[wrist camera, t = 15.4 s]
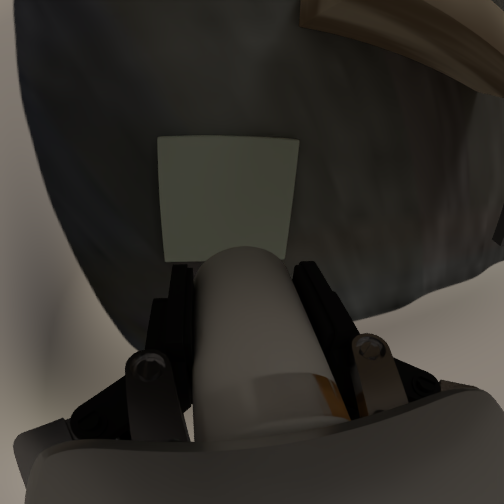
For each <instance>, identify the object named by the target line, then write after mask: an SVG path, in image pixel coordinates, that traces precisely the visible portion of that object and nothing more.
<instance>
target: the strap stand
mask: <svg viewBox="0 0 504 504" xmlns="http://www.w3.org/2000/svg"><path fill="white" fill-rule="evenodd" d="M299 27H303V28H308V29H313V30H318V31H323V32H327V33H331V34H335V35H339V36H343V37H347V38H351V39H354V40H358V41H361V42H365V43H368V44H371V45H374V46H377V47H380V48H383V49H386V50H389V51H391V52H394V53H397V54H400V55H402V56H405V57H407V58H410V59H412V60H415V61H417V62H419V63H422V64H424V65H426V66H428V67H430V68H433V69H435V70H437V71H439V72H441V73H443V74H445V75H447V76H449V77H451V78H453V79H455V80H457V81H459V82H461V83H462V84H464V85H466V86H468V87H470V88H471V89H473V90H475V91H476V92H479V93H484V94H489V95H493V96H497V97H502V98H504V11H503V10H501V9H500V8H499V7H498V6H497V5H496V4H495V3H494V2H493V1H491V0H301V3H300V19H299Z"/></svg>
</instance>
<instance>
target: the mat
mask: <svg viewBox="0 0 504 504" xmlns="http://www.w3.org/2000/svg"><path fill="white" fill-rule="evenodd" d="M299 141H300V140H298V139H290V138H276V137H258V136H229V135H191V136H162V137H158V138H157V142H158V176H159V196H160V211H161V224H162V236H163V247H164V256H165V262H185V261H206V260H208V259H209V258H210V257H211V256H213V255H215V254H216V253H218V252H221V251H223V250H226V249H229V248H233V247H240V246H252V247H258V248H261V249H265V250H267V251H269V252H271V253H273V254H274V255H276V256H277V257H278V258H279V259H285V254H286V247H287V239H288V232H289V225H290V217H291V209H292V201H293V193H294V185H295V177H296V168H297V160H298V151H299Z"/></svg>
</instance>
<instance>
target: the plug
mask: <svg viewBox="0 0 504 504" xmlns="http://www.w3.org/2000/svg"><path fill="white" fill-rule="evenodd" d="M192 394H193V420H194V441H195V442H210V441H228V440H241V439H251V438H260V437H268V436H276V435H283V434H289V433H295V432H301V431H307V430H312V429H317V428H322V427H326V426H331V425H335V424H339V423H343V422H347V421H351V419H350V417H349V414H348V412H347V409H346V407H345V404H344V402H343V400H342V397H341V395H340V392H339V390H338V387H337V385H336V382H335V380H334V378H333V375H332V373H331V370H330V368H329V365H328V363H327V361H326V358H325V356H324V353H323V351H322V349H321V346H320V344H319V342H318V339H317V337H316V335H315V332H314V330H313V328H312V325H311V323H310V321H309V318H308V316H307V314H306V311H305V309H304V307H303V304H302V302H301V300H300V297H299V295H298V293H297V291H296V288H295V286H294V284H293V282H292V279H291V277H290V275H289V273H288V270H287V268H286V266H285V265H284V263H283V262H282V261H281V260H280V259H279V258H278V257H277V256H276V255H274V254H273V253H271V252H269V251H267V250H265V249H261V248H258V247H252V246H240V247H233V248H229V249H226V250H223V251H221V252H218V253H216V254H215V255H213V256H211V257H210V258H209V259H208V260H206V261H205V262H204V263H203V264H202V266H201V267H200V268H199V270H198V271H197V273H196V275H195V278H194V299H193V368H192Z"/></svg>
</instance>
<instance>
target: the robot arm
mask: <svg viewBox="0 0 504 504" xmlns="http://www.w3.org/2000/svg"><path fill="white" fill-rule="evenodd" d="M292 282H293V284H294V286H295V288H296V291H297V293H298V295H299V297H300V300H301V302H302V304H303V307H304V309H305V311H306V314H307V316H308V318H309V321H310V323H311V325H312V328H313V330H314V332H315V335H316V337H317V339H318V342H319V344H320V346H321V349H322V351H323V353H324V356H325V358H326V361H327V363H328V365H329V368H330V370H331V373H332V375H333V378H334V380H335V382H336V385H337V387H338V390H339V392H340V395H341V397H342V400H343V402H344V404H345V407H346V409H347V412H348V414H349V417H350V419H351V421H347V422H343V423H339V424H335V425H331V426H326V427H322V428H317V429H312V430H307V431H301V432H295V433H289V434H283V435H276V436H268V437H260V438H251V439H241V440H228V441H210V442H191V441H190V438H189V434H188V430H187V427H186V422H185V419H184V414H183V413H184V412H185V411H186V410H188V409H189V408H190V407H191V404H193V394H192V368H193V299H194V281H193V268H187V264H181V265H173V267H172V274H171V281H170V288H169V296H168V298H154V299H153V303H152V309H151V314H150V320H149V326H148V332H147V338H146V345H145V350H141V351H138V352H136V353H134V354H133V355H132V356H131V357H130V358H129V359H128V360H127V362H126V366H125V376H123V377H122V378H120V379H119V380H118V381H116V382H115V383H113V384H112V385H110V386H109V387H107V388H106V389H104V390H103V391H101V392H100V393H98V394H97V395H95V396H94V397H93V398H91V399H89V400H88V401H87V402H85V403H83V404H82V405H80V406H79V407H78V408H77V409H76V410H75V411H74V412H73V414H72V416H71V418H69V419H67V420H65V419H64V418H61V419H58V420H56V421H53V422H51V423H48V424H45V425H43V426H40V427H37V428H35V429H32V430H29V431H26V432H24V433H21V434H20V435H18V436H17V438H16V439H15V441H14V445H13V448H14V454H15V458H16V461H17V464H18V467H19V470H20V473H21V476H22V479H23V482H24V484H25V487H26V495H25V504H504V411H503V410H502V408H501V407H500V406H499V404H498V403H497V402H496V400H495V399H494V398H493V397H492V396H491V395H490V394H489V393H487V392H486V391H484V390H481V389H479V388H477V387H474V386H470V385H465V384H459V383H455V382H450V381H445V380H440V381H439V382H438V380H437V379H436V378H435V377H434V376H433V375H432V374H430V373H428V372H426V371H424V370H421V369H419V368H417V367H414V366H412V365H410V364H407V363H405V362H402V361H400V360H398V359H396V358H393V356H392V354H391V351H390V348H389V346H388V344H387V343H386V342H385V341H384V340H383V339H382V338H380V337H379V336H377V335H374V334H368V333H365V334H360V333H359V331H358V330H357V328H356V326H355V324H354V323H353V321H352V319H351V317H350V316H349V314H348V312H347V310H346V309H345V307H344V305H343V304H342V302H341V300H340V298H339V297H338V295H337V294H336V292H334V291H332V290H331V288H330V286H329V285H328V283H327V281H326V280H325V278H324V276H323V275H322V273H321V271H320V270H319V268H318V266H317V265H316V263H315V262H314V261H301V262H300V263H299V265H296V266H295V268H294V274H293V279H292Z"/></svg>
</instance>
